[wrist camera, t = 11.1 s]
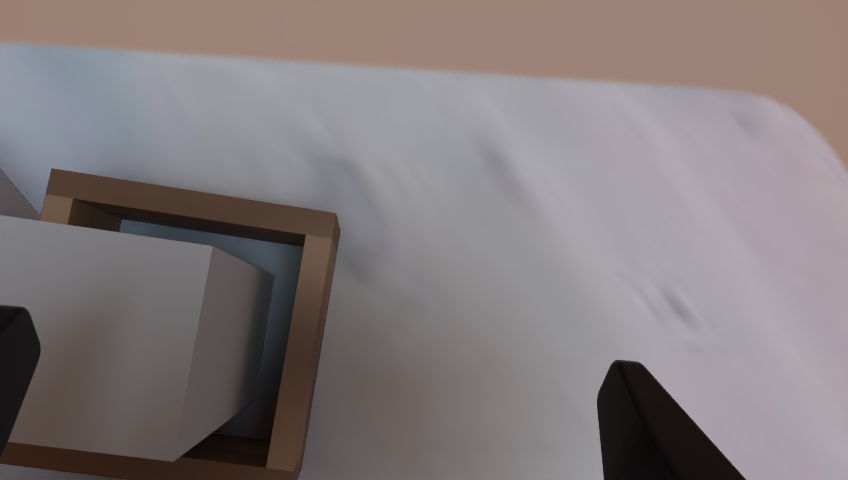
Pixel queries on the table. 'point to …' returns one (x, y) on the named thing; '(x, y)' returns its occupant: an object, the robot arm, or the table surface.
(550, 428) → the table surface
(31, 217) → the grey block
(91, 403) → the light grey rectangular block
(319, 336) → the walnut collar
